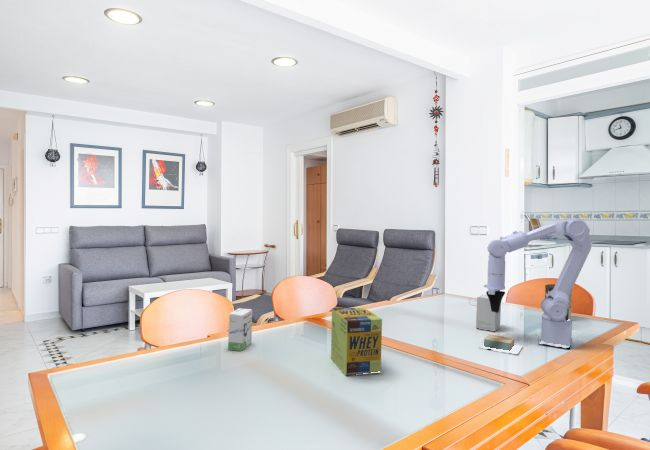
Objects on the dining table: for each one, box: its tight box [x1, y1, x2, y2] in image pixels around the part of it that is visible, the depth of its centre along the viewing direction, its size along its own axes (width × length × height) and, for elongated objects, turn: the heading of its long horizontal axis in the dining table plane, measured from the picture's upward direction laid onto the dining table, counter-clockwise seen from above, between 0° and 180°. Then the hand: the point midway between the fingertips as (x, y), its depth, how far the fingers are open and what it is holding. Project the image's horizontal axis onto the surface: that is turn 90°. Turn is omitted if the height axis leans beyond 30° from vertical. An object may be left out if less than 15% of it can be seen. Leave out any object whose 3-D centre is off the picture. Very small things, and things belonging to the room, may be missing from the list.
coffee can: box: [544, 283, 574, 320], centre depth 187 cm, size 10×10×14 cm
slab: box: [483, 333, 515, 351], centre depth 145 cm, size 8×3×7 cm
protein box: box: [330, 307, 383, 377], centre depth 127 cm, size 10×15×16 cm
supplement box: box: [475, 294, 502, 332], centre depth 169 cm, size 7×7×13 cm
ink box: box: [227, 307, 253, 352], centre depth 143 cm, size 9×5×12 cm, turn 168°
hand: (495, 311), depth 156 cm, fingers closed
